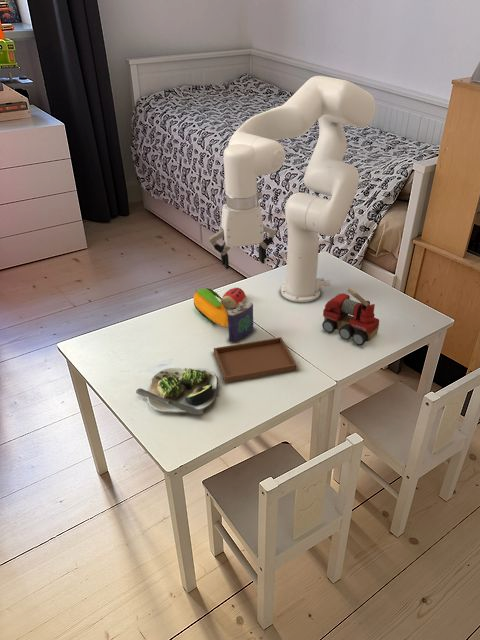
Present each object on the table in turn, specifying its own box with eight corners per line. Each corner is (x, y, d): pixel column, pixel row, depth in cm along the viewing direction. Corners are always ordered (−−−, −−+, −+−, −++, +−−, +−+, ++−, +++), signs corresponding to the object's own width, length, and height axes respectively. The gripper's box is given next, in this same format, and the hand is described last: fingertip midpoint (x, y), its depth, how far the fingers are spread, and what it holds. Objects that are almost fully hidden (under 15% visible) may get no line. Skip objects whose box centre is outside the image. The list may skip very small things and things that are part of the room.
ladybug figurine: (216, 306, 164) (215, 296, 162) (231, 292, 171) (231, 282, 169) (235, 312, 163) (235, 302, 160) (250, 297, 170) (250, 287, 167)
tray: (281, 342, 151) (281, 337, 150) (296, 370, 142) (296, 364, 141) (213, 353, 146) (213, 348, 145) (225, 383, 137) (224, 377, 136)
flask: (249, 326, 157) (248, 294, 150) (256, 330, 155) (256, 298, 148) (226, 340, 151) (225, 307, 144) (234, 344, 150) (232, 311, 143)
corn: (207, 278, 162) (242, 308, 150) (210, 299, 167) (244, 330, 155) (185, 286, 159) (218, 317, 147) (189, 307, 164) (221, 339, 152)
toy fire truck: (335, 317, 162) (340, 263, 151) (380, 336, 155) (389, 281, 144) (313, 333, 155) (317, 278, 144) (359, 354, 148) (367, 298, 137)
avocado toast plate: (130, 419, 125) (127, 404, 123) (144, 371, 139) (142, 357, 136) (213, 420, 126) (212, 405, 123) (219, 372, 140) (218, 358, 137)
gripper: (271, 190, 135) (271, 252, 146) (203, 198, 130) (208, 262, 142) (280, 202, 130) (279, 266, 141) (209, 210, 125) (215, 275, 136)
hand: (244, 263), depth 141 cm, fingers open, 9 cm apart
